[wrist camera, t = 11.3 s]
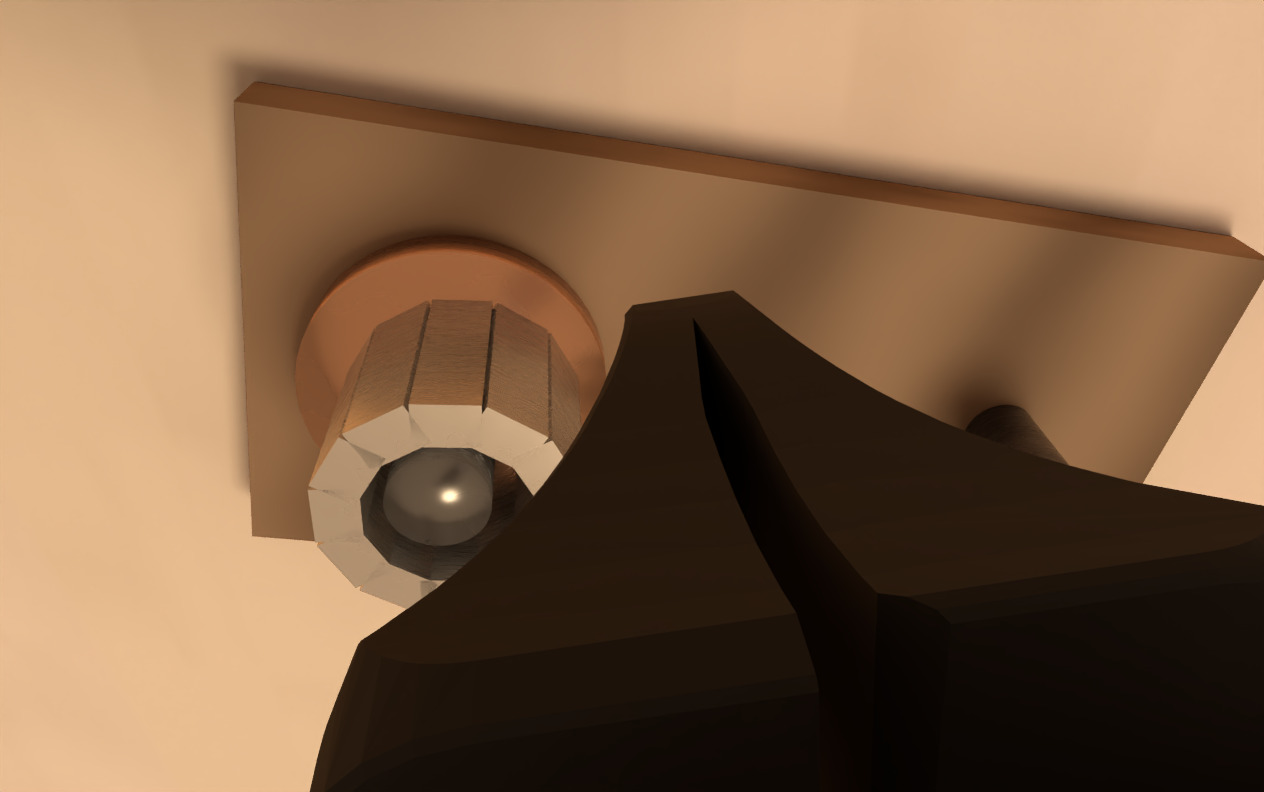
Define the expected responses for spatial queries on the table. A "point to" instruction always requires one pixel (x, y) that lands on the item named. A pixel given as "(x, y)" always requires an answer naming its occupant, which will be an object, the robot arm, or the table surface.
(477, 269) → the hub
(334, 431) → the steel collar
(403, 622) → the robot arm
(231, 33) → the table surface
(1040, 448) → the stand rod
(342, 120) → the walnut board
